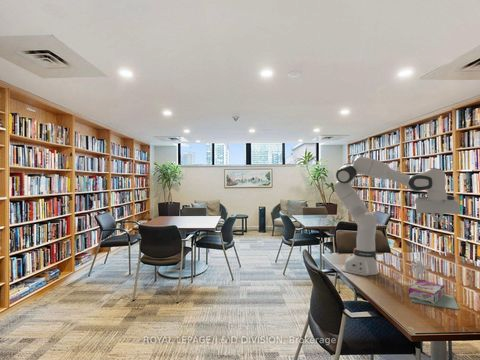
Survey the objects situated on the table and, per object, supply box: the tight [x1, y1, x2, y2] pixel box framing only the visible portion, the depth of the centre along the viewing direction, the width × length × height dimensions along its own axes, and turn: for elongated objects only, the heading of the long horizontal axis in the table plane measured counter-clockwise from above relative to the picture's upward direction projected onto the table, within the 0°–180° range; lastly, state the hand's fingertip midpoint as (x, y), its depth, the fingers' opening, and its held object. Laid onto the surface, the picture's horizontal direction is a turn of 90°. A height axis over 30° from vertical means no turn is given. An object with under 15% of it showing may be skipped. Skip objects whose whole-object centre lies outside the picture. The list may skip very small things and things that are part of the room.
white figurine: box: [410, 258, 429, 281], centre depth 164 cm, size 9×4×12 cm, turn 56°
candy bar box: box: [408, 279, 445, 304], centre depth 137 cm, size 11×5×16 cm
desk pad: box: [410, 293, 460, 311], centre depth 135 cm, size 18×17×1 cm
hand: (437, 221), depth 155 cm, fingers closed
